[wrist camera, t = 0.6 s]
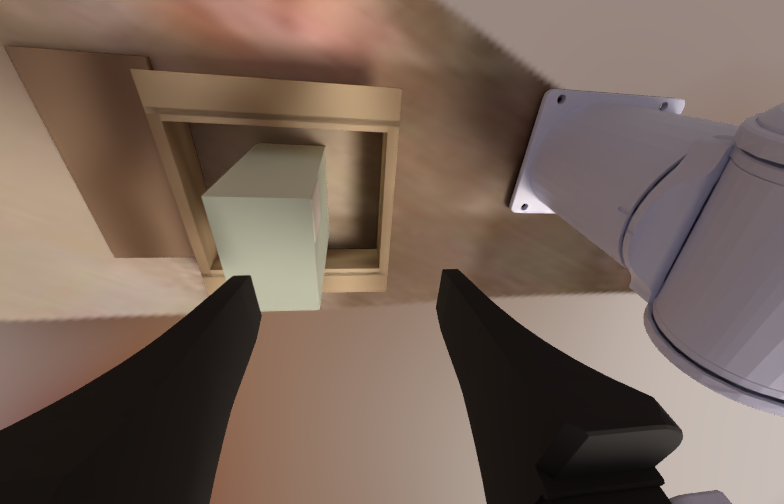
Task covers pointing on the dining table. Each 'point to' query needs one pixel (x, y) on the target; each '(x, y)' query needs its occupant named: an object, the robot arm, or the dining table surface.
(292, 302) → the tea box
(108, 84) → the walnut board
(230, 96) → the tan square frame
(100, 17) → the dining table surface
